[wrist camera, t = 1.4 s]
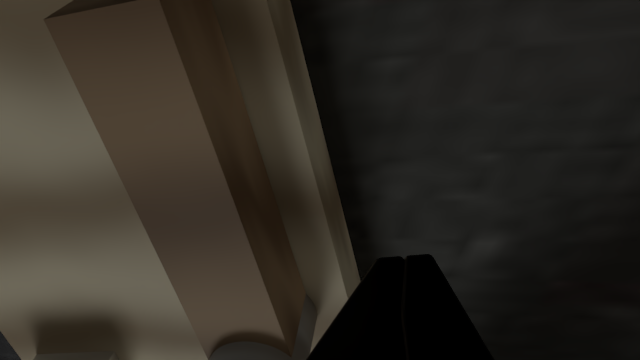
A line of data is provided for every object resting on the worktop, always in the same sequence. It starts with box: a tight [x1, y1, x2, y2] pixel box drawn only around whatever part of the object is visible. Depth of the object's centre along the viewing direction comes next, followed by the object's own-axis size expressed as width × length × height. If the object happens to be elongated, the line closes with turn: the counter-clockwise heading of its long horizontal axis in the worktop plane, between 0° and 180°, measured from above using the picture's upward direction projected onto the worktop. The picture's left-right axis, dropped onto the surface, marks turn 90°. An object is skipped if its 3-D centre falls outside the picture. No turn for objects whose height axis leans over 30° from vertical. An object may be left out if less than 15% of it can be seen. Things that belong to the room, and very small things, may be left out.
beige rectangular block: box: [0, 0, 361, 360], centre depth 21 cm, size 19×16×6 cm
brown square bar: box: [43, 0, 317, 360], centre depth 18 cm, size 15×3×4 cm, turn 13°
